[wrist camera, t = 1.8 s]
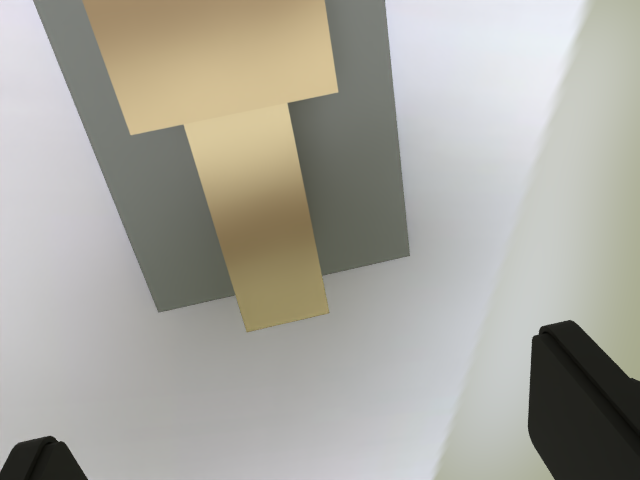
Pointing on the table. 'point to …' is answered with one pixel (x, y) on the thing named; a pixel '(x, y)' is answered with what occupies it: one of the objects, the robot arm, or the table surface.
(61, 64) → the rest mat
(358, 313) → the table surface
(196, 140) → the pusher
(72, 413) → the table surface
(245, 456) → the table surface
